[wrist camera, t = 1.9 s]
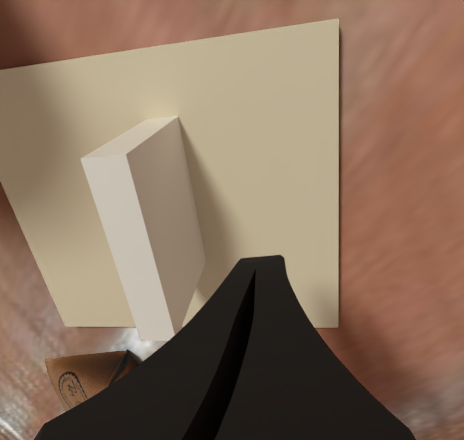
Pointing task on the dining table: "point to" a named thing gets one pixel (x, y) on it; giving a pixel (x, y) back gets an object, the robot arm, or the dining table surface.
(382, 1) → the dining table surface
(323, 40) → the mat
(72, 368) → the sunglasses case
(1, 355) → the dining table surface
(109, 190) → the tile
